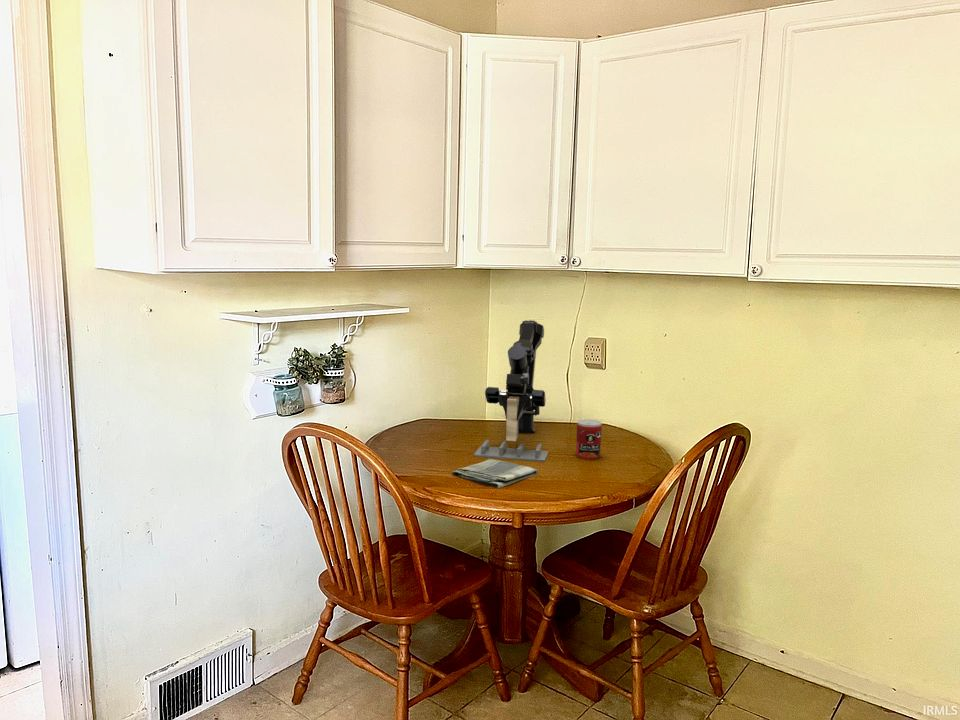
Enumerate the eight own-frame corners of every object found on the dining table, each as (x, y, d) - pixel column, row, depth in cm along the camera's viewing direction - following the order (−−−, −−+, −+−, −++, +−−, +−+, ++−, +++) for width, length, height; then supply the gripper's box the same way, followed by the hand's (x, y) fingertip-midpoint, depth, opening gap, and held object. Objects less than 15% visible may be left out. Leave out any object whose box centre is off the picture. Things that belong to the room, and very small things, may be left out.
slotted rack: (480, 447, 234) (480, 438, 234) (548, 453, 230) (548, 443, 229) (473, 456, 224) (474, 446, 224) (544, 462, 220) (545, 452, 220)
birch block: (508, 436, 229) (509, 396, 227) (517, 437, 228) (519, 397, 226) (506, 440, 225) (507, 399, 222) (515, 441, 224) (516, 400, 222)
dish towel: (490, 463, 220) (490, 452, 219) (538, 476, 208) (539, 465, 208) (449, 477, 205) (449, 466, 205) (498, 491, 194) (499, 480, 194)
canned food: (576, 459, 224) (578, 424, 222) (574, 452, 232) (575, 418, 230) (601, 460, 224) (603, 425, 222) (598, 452, 232) (600, 419, 230)
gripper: (486, 361, 228) (479, 403, 219) (545, 365, 225) (540, 407, 216) (490, 381, 237) (483, 422, 228) (547, 385, 234) (542, 426, 225)
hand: (511, 419), depth 224 cm, fingers closed on birch block, 3 cm apart
